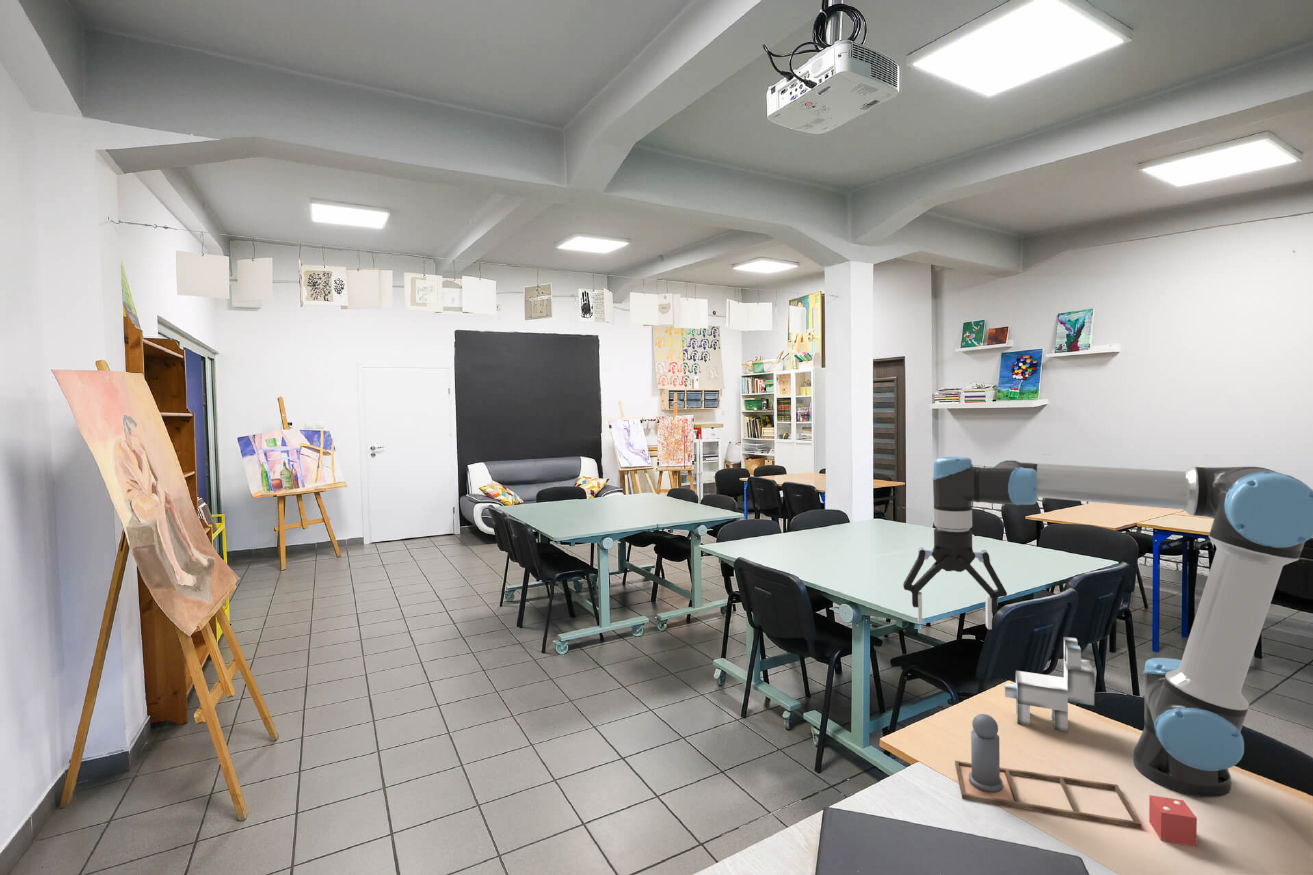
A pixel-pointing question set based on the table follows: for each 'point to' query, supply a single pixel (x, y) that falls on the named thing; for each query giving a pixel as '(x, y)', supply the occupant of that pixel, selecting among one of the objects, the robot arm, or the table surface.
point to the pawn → (985, 755)
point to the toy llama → (1054, 688)
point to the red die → (1173, 820)
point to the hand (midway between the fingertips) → (953, 624)
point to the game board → (1006, 799)
